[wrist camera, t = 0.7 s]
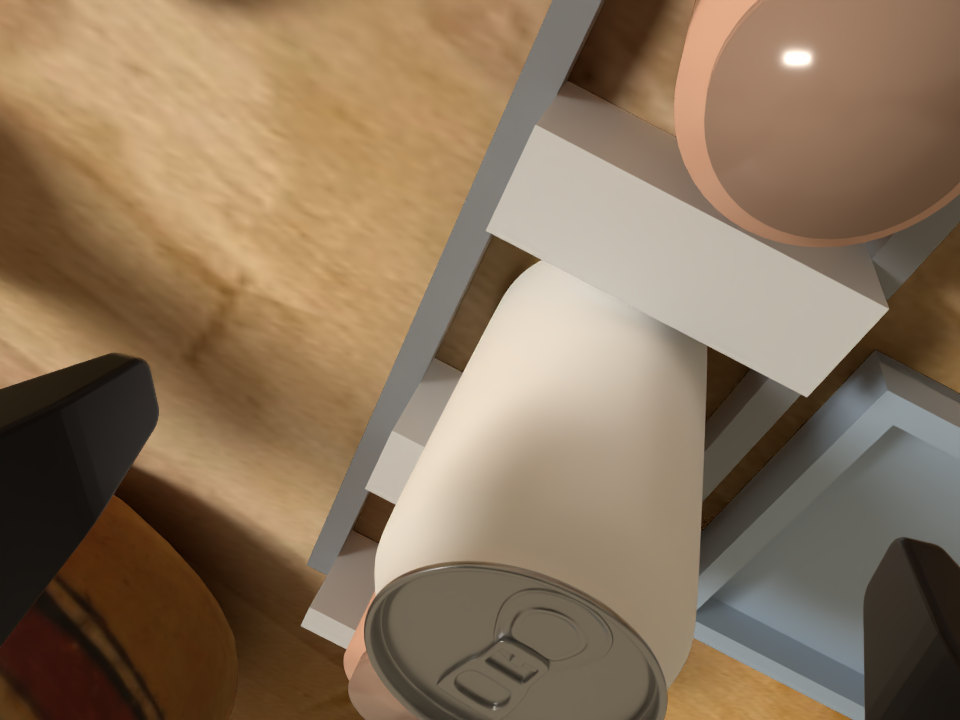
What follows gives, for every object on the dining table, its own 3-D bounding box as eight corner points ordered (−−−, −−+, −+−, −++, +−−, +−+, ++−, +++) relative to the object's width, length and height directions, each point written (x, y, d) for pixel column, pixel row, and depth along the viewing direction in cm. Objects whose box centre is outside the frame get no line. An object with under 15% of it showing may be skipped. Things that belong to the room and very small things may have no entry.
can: (756, 323, 22) (779, 697, 12) (623, 454, 25) (559, 818, 16) (569, 198, 21) (435, 483, 11) (461, 350, 25) (293, 661, 15)
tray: (1239, 539, 21) (1280, 594, 20) (936, 716, 28) (948, 768, 27) (875, 349, 21) (887, 390, 20) (660, 574, 28) (656, 618, 26)
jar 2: (982, -41, 16) (1149, 25, 10) (828, 165, 19) (878, 318, 13) (773, -152, 16) (803, -159, 10) (651, 72, 19) (613, 179, 13)
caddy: (1213, -106, 14) (1353, -96, 11) (543, 651, 32) (523, 739, 29) (722, -368, 14) (720, -433, 11) (322, 538, 32) (277, 614, 29)
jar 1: (563, 518, 28) (515, 709, 22) (508, 590, 31) (453, 777, 24) (442, 455, 28) (359, 630, 21) (399, 533, 31) (315, 707, 24)
